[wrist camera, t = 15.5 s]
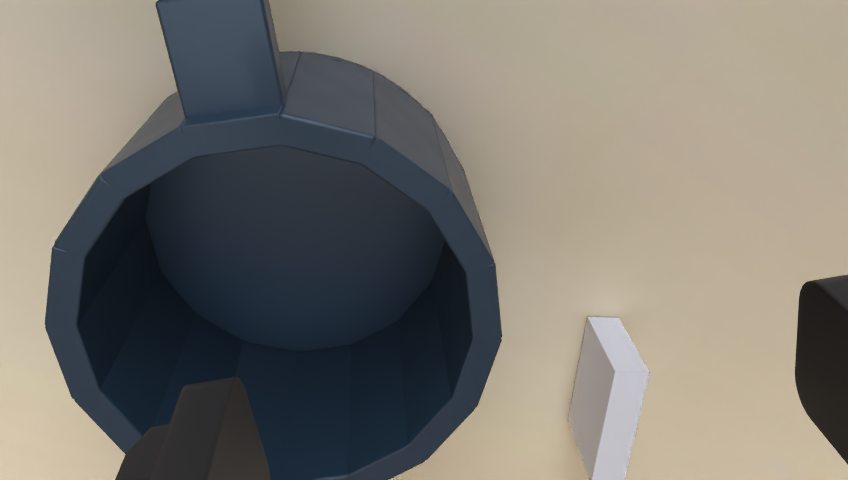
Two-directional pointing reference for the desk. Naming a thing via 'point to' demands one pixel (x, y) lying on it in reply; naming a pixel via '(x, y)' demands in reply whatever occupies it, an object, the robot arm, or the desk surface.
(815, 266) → the desk surface
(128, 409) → the pot
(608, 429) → the eraser
